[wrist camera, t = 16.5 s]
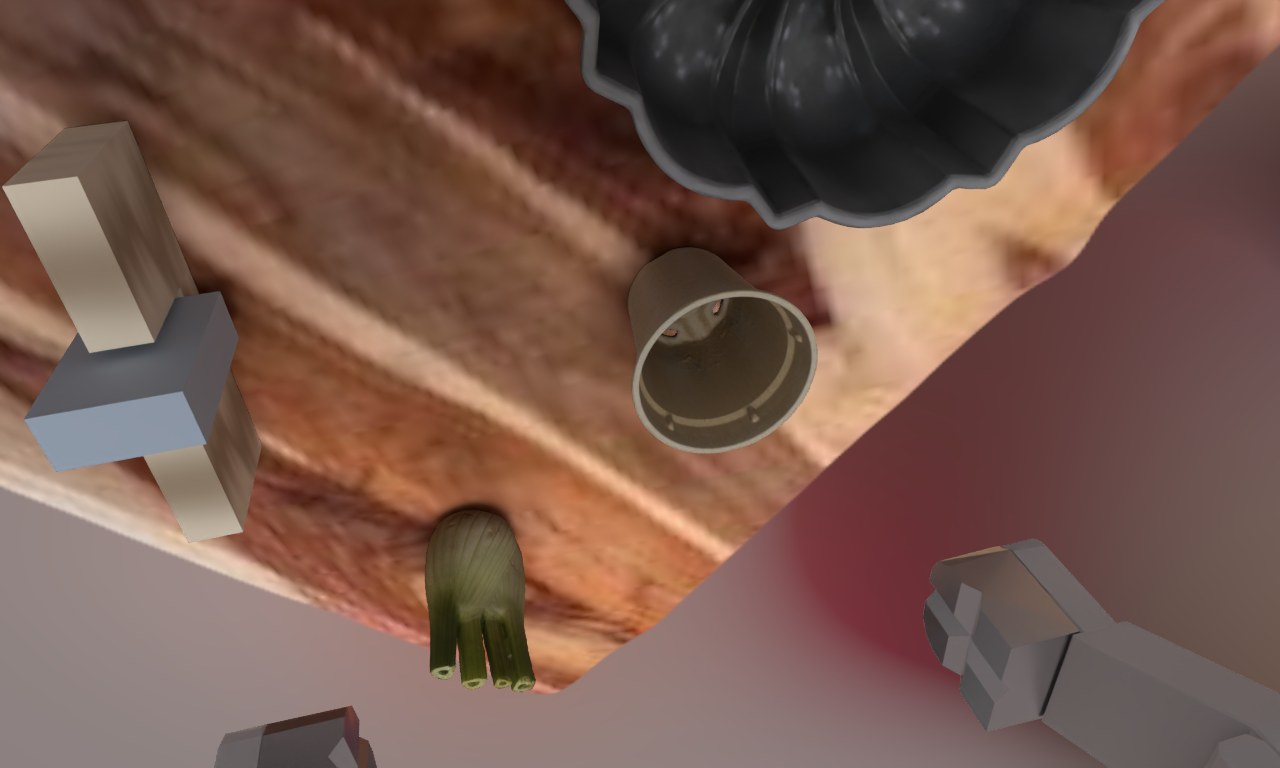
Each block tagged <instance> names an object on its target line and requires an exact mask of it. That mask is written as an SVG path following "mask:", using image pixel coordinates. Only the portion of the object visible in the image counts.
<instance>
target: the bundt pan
mask: <svg viewBox="0 0 1280 768" xmlns="http://www.w3.org/2000/svg"><path fill="white" fill-rule="evenodd" d="M564 1H565V3H566V4H567V5H568V7H569V8H570V9H571V10H572V12H573V13H574V14H575V15H576V16H577V18H578V19H579V21H580V23H581V26H582V30H583V33H582V40H581V53H580V71H581V74H582V77H583V79H584V81H585V83H586V85H587V86H588V87H589V88H590V89H591V90H593V91H594V92H595V93H597V94H599V95H602V96H604V97H606V98H608V99H610V100H612V101H614V102H616V103H618V104H620V105H622V106H624V107H626V108H627V109H628V110H629V111H630V113H631V117H632V120H633V124H634V127H635V130H636V132H637V134H638V136H639V138H640V140H641V142H642V144H643V146H644V147H645V149H646V151H647V152H648V153H649V155H650V156H651V157H652V159H653V160H654V162H655V163H656V164H657V165H658V166H659V167H660V168H661V169H662V170H663V172H664V173H665V174H667V175H668V176H669V177H670V178H672V179H673V180H674V181H676V182H677V183H679V184H680V185H682V186H684V187H685V188H687V189H689V190H691V191H694V192H696V193H698V194H701V195H703V196H707V197H712V198H717V199H724V200H743V201H745V202H748V203H750V204H751V206H752V207H753V208H754V209H755V210H756V212H757V213H758V214H759V215H760V216H761V218H762V219H763V220H764V221H765V222H766V224H767V225H768V226H769V227H771V228H773V229H777V230H780V229H785V228H788V227H791V226H793V225H796V224H798V223H801V222H803V221H805V220H808V219H810V218H813V217H819V218H822V219H825V220H827V221H830V222H833V223H835V224H839V225H843V226H847V227H854V228H872V227H880V226H886V225H891V224H895V223H898V222H901V221H905V220H907V219H909V218H911V217H913V216H915V215H918V214H920V213H922V212H924V211H925V210H927V209H928V208H930V207H931V206H933V205H934V204H935V203H937V202H938V201H940V200H941V199H942V198H943V197H945V196H946V195H947V194H948V193H949V192H951V191H952V190H954V189H957V188H964V189H987V188H990V187H992V186H994V185H996V184H997V183H998V182H999V181H1000V180H1001V179H1002V178H1003V176H1004V175H1005V174H1006V172H1007V171H1008V169H1009V168H1010V166H1011V165H1012V164H1013V162H1014V161H1015V159H1016V158H1017V156H1018V155H1019V153H1020V152H1021V151H1022V150H1023V148H1024V147H1026V146H1027V145H1030V144H1032V143H1036V142H1038V141H1040V140H1043V139H1045V138H1047V137H1049V136H1051V135H1052V134H1054V133H1056V132H1058V131H1059V130H1061V129H1062V128H1063V127H1065V126H1066V125H1067V124H1069V123H1070V122H1072V121H1073V120H1074V119H1075V118H1077V117H1078V116H1079V115H1080V114H1082V113H1083V112H1084V111H1085V110H1086V109H1087V108H1088V107H1089V106H1090V105H1091V104H1092V103H1093V102H1094V101H1095V100H1096V99H1097V97H1098V96H1099V95H1100V94H1101V93H1102V92H1103V90H1104V89H1105V88H1106V87H1107V85H1108V84H1109V83H1110V81H1111V80H1112V79H1113V77H1114V76H1115V75H1116V73H1117V71H1118V69H1119V68H1120V66H1121V64H1122V63H1123V61H1124V59H1125V57H1126V56H1127V53H1128V51H1129V49H1130V47H1131V44H1132V42H1133V40H1134V38H1135V35H1136V33H1137V30H1138V28H1139V26H1140V23H1141V22H1142V21H1143V20H1144V19H1145V18H1146V16H1147V15H1148V14H1149V13H1150V12H1152V11H1153V10H1154V9H1155V8H1156V7H1158V6H1159V5H1160V4H1161V3H1162V2H1164V1H1165V0H564Z"/></svg>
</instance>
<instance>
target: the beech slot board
mask: <svg viewBox="0 0 1280 768" xmlns="http://www.w3.org/2000/svg"><path fill="white" fill-rule="evenodd" d="M2 187H3V189H4V191H5V193H6V195H7V197H8V199H9V201H10V203H11V205H12V206H13V208H14V210H15V212H16V214H17V216H18V218H19V220H20V222H21V224H22V226H23V227H24V229H25V231H26V233H27V235H28V237H29V239H30V241H31V243H32V245H33V247H34V248H35V250H36V252H37V254H38V256H39V258H40V260H41V262H42V264H43V266H44V268H45V269H46V271H47V273H48V275H49V277H50V279H51V281H52V283H53V285H54V287H55V289H56V290H57V292H58V294H59V296H60V298H61V300H62V302H63V304H64V306H65V308H66V309H67V311H68V313H69V315H70V317H71V319H72V321H73V323H74V325H75V327H76V329H77V330H78V332H79V334H80V336H81V338H82V340H83V342H84V344H85V346H86V348H87V350H88V351H89V353H92V352H98V351H104V350H110V349H116V348H122V347H128V346H135V345H141V344H147V343H153V342H155V340H156V338H157V336H158V334H159V332H160V330H161V327H162V325H163V323H164V321H165V319H166V317H167V314H168V312H169V310H170V308H171V306H172V304H173V302H174V299H175V298H179V297H186V296H192V295H198V294H199V292H198V290H197V287H196V285H195V283H194V280H193V278H192V275H191V273H190V271H189V268H188V266H187V263H186V261H185V258H184V256H183V254H182V251H181V249H180V246H179V244H178V242H177V239H176V237H175V234H174V232H173V229H172V227H171V225H170V222H169V220H168V217H167V215H166V213H165V210H164V208H163V205H162V203H161V201H160V198H159V196H158V193H157V191H156V188H155V186H154V184H153V181H152V179H151V176H150V174H149V172H148V169H147V167H146V164H145V162H144V159H143V157H142V155H141V152H140V150H139V147H138V145H137V143H136V140H135V138H134V135H133V133H132V130H131V128H130V126H129V123H128V121H121V122H113V123H105V124H97V125H89V126H81V127H73V128H65V129H64V130H63V131H62V132H60V133H59V134H58V135H57V136H56V137H55V138H54V139H53V140H52V141H51V142H50V143H49V144H47V145H46V146H45V147H44V148H43V149H42V150H41V151H40V152H39V153H38V154H37V155H36V156H35V157H33V158H32V159H31V160H30V161H29V162H28V163H27V164H26V165H25V166H24V167H23V168H22V169H20V170H19V171H18V172H17V173H16V174H15V175H14V176H13V177H12V178H11V179H10V180H9V181H7V182H6V183H5V184H4V185H3V186H2ZM261 446H262V444H261V442H260V440H259V437H258V435H257V432H256V430H255V428H254V425H253V423H252V420H251V418H250V415H249V413H248V411H247V408H246V406H245V403H244V401H243V399H242V396H241V394H240V391H239V389H238V386H237V384H236V382H235V379H234V377H233V374H232V372H231V370H230V369H229V373H228V376H227V379H226V382H225V386H224V389H223V392H222V396H221V399H220V402H219V406H218V409H217V412H216V415H215V419H214V422H213V425H212V429H211V432H210V435H209V438H208V442H207V444H204V445H199V446H193V447H188V448H183V449H177V450H172V451H167V452H161V453H156V454H151V455H145V456H144V458H145V460H146V462H147V464H148V466H149V468H150V470H151V472H152V474H153V475H154V477H155V479H156V481H157V483H158V485H159V487H160V489H161V491H162V493H163V495H164V496H165V498H166V500H167V502H168V504H169V506H170V508H171V510H172V512H173V514H174V516H175V517H176V519H177V521H178V523H179V525H180V527H181V529H182V531H183V533H184V535H185V536H186V538H187V540H188V542H189V543H191V542H196V541H201V540H205V539H210V538H215V537H220V536H225V535H230V534H235V533H240V532H243V530H244V525H245V521H246V516H247V512H248V507H249V502H250V498H251V493H252V488H253V484H254V479H255V474H256V470H257V465H258V460H259V456H260V451H261Z"/></svg>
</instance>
